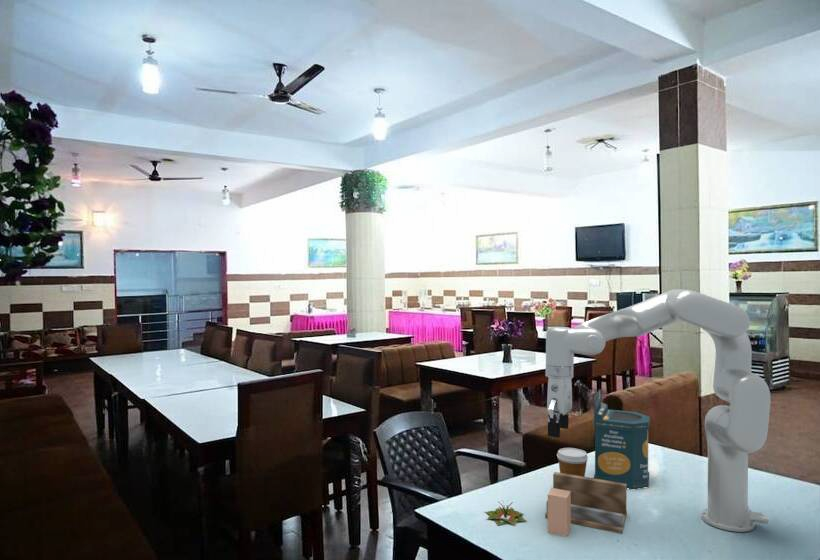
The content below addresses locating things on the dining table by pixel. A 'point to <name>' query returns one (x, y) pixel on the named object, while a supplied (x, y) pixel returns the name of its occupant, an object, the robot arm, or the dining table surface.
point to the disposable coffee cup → (572, 461)
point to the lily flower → (505, 515)
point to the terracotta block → (559, 511)
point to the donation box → (621, 445)
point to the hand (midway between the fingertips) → (558, 432)
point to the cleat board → (594, 501)
